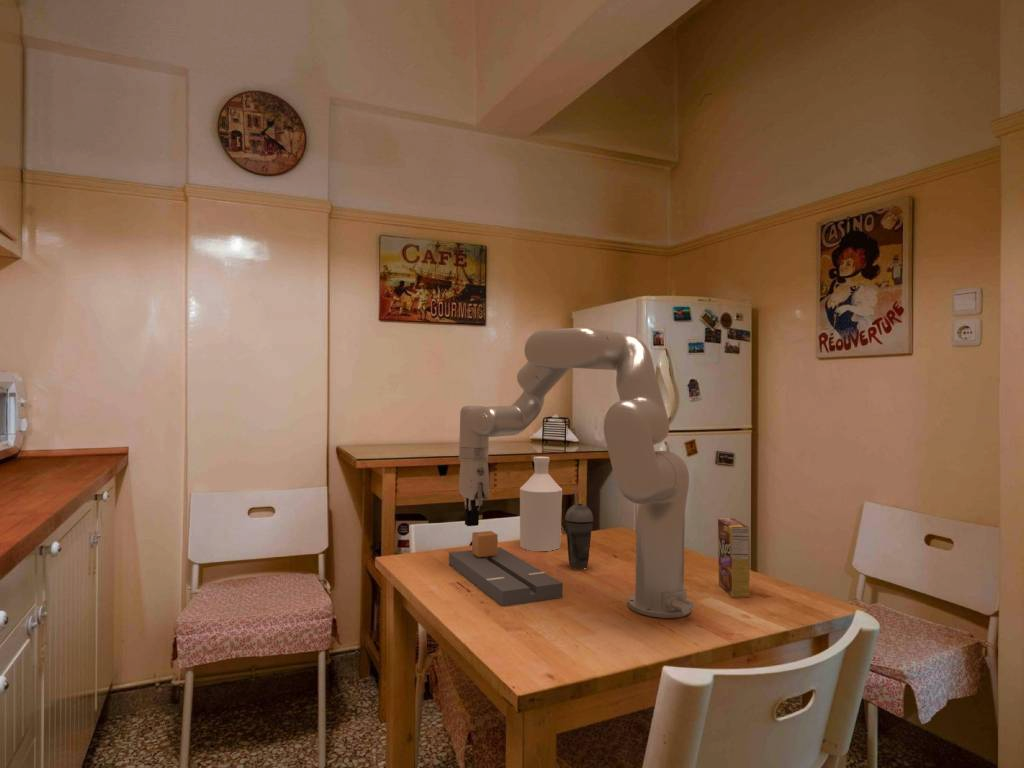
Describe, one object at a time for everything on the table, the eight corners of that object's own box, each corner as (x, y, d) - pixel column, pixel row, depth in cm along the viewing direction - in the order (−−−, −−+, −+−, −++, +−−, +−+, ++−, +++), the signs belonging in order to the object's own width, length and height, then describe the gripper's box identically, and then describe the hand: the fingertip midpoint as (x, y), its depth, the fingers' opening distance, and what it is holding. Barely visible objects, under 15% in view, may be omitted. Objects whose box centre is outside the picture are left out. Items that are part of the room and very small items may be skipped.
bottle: (557, 553, 164) (559, 460, 164) (514, 550, 167) (516, 458, 167) (564, 543, 176) (565, 456, 176) (524, 540, 178) (525, 454, 179)
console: (562, 597, 129) (562, 582, 129) (502, 606, 123) (502, 590, 123) (500, 558, 158) (500, 546, 158) (448, 564, 152) (449, 552, 152)
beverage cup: (594, 571, 148) (596, 488, 148) (564, 571, 148) (565, 488, 148) (591, 563, 155) (592, 484, 155) (562, 562, 155) (564, 483, 156)
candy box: (716, 584, 139) (717, 517, 140) (735, 585, 139) (736, 517, 140) (730, 597, 130) (730, 526, 131) (750, 598, 130) (751, 526, 131)
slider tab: (497, 561, 149) (497, 534, 149) (478, 563, 147) (478, 536, 147) (490, 557, 152) (490, 531, 152) (471, 559, 150) (472, 532, 150)
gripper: (498, 456, 152) (496, 530, 152) (476, 450, 165) (474, 518, 165) (470, 457, 149) (468, 533, 149) (450, 451, 162) (448, 520, 162)
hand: (471, 525), depth 157 cm, fingers closed
